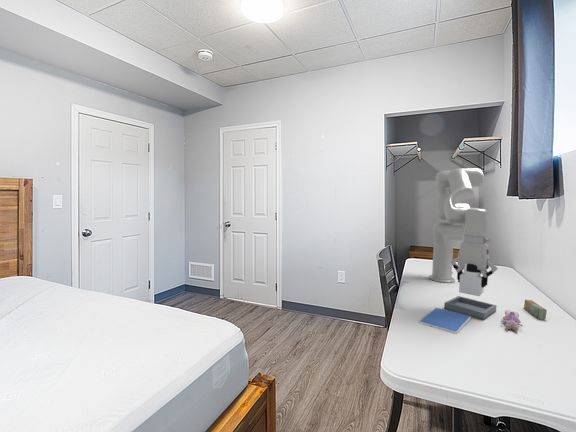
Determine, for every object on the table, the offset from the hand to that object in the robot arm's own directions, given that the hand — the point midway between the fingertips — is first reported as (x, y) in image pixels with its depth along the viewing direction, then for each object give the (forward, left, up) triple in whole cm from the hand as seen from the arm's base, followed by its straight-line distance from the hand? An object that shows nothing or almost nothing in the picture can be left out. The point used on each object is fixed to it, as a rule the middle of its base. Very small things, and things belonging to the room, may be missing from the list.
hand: (471, 284), depth 119 cm
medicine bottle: (0, 0, -4) cm, 4 cm away
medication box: (-17, +17, -11) cm, 27 cm away
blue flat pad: (+19, -2, -11) cm, 22 cm away
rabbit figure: (+4, +14, -11) cm, 19 cm away
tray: (0, 0, -11) cm, 11 cm away
